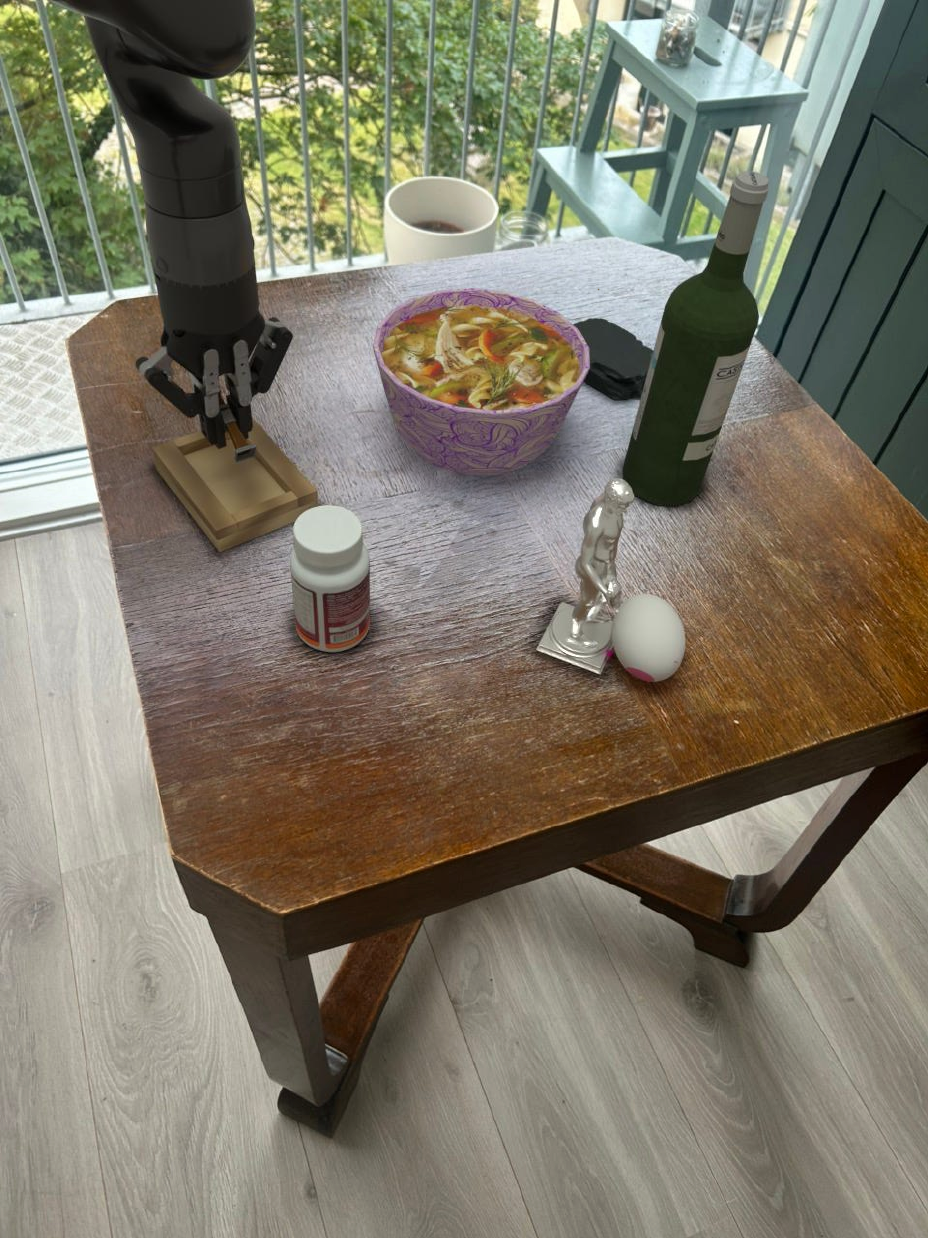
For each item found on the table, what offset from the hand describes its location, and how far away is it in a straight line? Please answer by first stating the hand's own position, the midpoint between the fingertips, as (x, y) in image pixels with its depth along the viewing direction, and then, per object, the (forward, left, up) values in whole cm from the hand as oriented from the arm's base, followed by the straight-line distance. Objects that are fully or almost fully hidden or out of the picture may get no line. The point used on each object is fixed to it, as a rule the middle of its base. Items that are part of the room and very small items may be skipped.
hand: (228, 438), depth 84 cm
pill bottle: (-1, -19, -6) cm, 20 cm away
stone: (+44, -3, -6) cm, 45 cm away
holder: (0, 0, -6) cm, 6 cm away
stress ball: (+19, -36, -6) cm, 41 cm away
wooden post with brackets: (0, 0, 0) cm, 0 cm away
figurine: (+15, -32, -6) cm, 36 cm away
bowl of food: (+23, -6, -6) cm, 25 cm away
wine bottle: (+36, -20, -6) cm, 42 cm away
